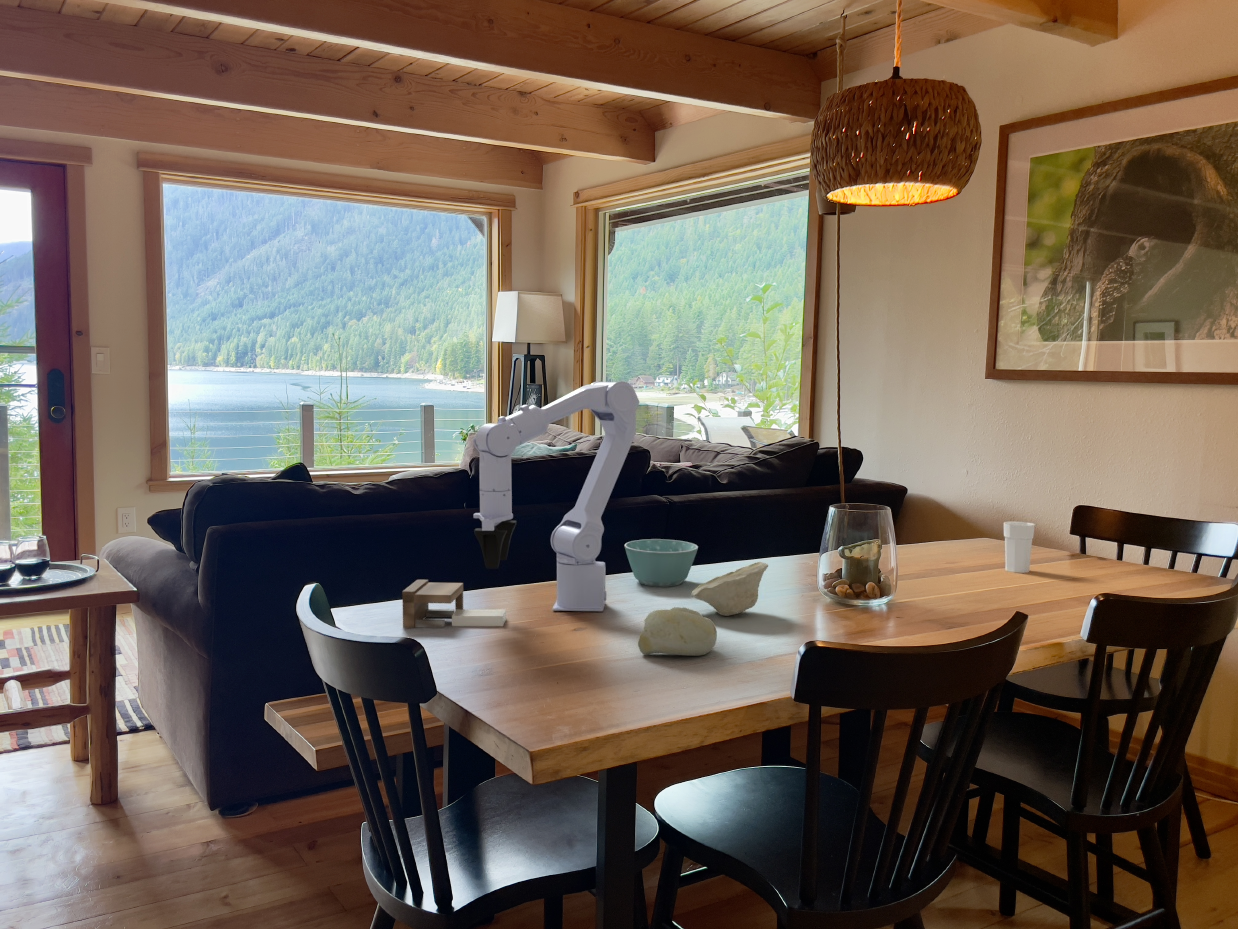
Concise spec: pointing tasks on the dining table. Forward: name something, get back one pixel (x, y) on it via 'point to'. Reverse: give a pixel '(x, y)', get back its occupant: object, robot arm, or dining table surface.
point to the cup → (1018, 545)
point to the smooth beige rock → (677, 633)
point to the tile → (479, 617)
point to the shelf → (426, 593)
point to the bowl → (660, 561)
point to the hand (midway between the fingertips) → (496, 564)
